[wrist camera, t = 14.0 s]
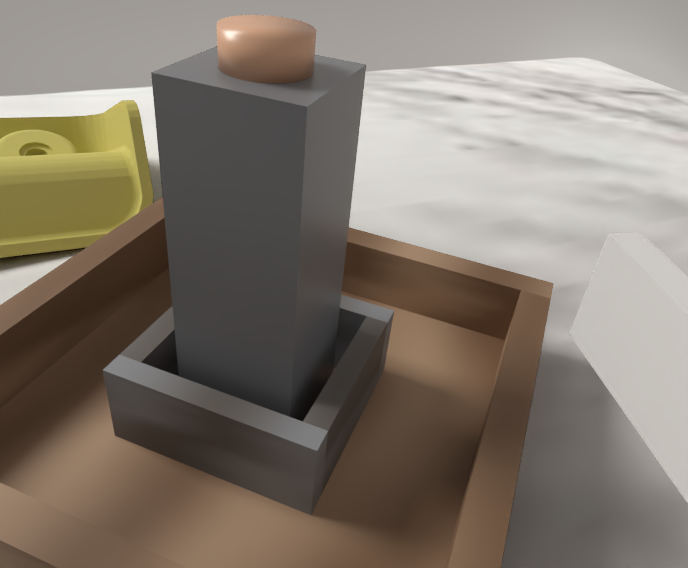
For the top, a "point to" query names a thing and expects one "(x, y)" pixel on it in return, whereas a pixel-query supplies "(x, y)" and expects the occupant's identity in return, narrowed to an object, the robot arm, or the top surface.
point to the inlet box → (265, 420)
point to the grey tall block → (258, 207)
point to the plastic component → (70, 179)
